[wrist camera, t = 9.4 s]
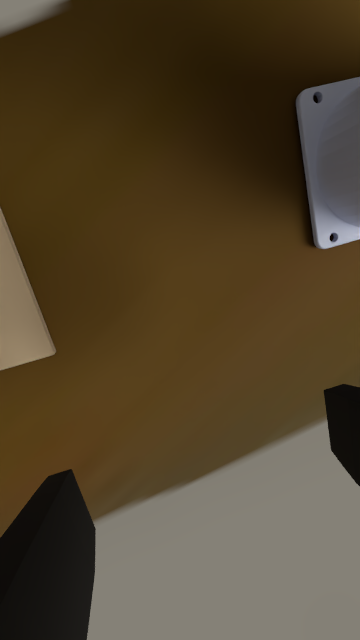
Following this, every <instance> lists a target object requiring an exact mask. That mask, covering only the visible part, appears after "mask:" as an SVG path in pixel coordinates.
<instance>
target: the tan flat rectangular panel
mask: <svg viewBox="0 0 360 640" xmlns="http://www.w3.org/2000/svg"><path fill="white" fill-rule="evenodd" d="M55 353H56V349H55V347H54V344H53V342H52V339H51V337H50V334H49V331H48V329H47V326H46V324H45V321H44V319H43V316H42V313H41V311H40V308H39V306H38V303H37V300H36V298H35V295H34V293H33V290H32V288H31V285H30V282H29V280H28V277H27V275H26V272H25V270H24V267H23V264H22V262H21V259H20V257H19V254H18V251H17V249H16V246H15V244H14V241H13V239H12V236H11V233H10V231H9V228H8V226H7V223H6V221H5V218H4V215H3V213H2V210H1V208H0V370H3V369H7V368H10V367H14V366H17V365H20V364H24V363H27V362H31V361H34V360H38V359H41V358H44V357H48V356H51V355H54V354H55Z"/></svg>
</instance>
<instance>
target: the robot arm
mask: <svg viewBox="0 0 360 640" xmlns="http://www.w3.org/2000/svg"><path fill="white" fill-rule="evenodd" d="M313 95H315V96H316V97H317V98H318V103H315V102H314V100H313ZM296 109H297V117H298V124H299V132H300V139H301V147H302V155H303V162H304V170H305V177H306V185H307V192H308V200H309V207H310V215H311V223H312V230H313V238H314V243H315V246H316V247H317V248H319V249H327V248H330V247H334V246H337V245H341V244H344V243H348V242H351V241H355V240H359V239H360V77H357V78H352V79H348V80H343V81H339V82H334V83H330V84H326V85H321V86H317V87H312V88H308V89H305V90H303V91H302V92H301V93H300V94H299V95H298V96H297V99H296ZM331 234H333V236H334V239H333V240H332V241H330V235H331ZM324 396H325V404H326V412H327V420H328V429H329V437H330V445H331V450H332V452H333V453H334V455H335V456H336V457H337V459H338V460H339V461H340V462H341V464H342V465H343V467H344V468H345V469H346V470H347V472H348V473H349V474H350V475H351V477H352V478H353V479H354V480H355V482H356V483H357V484H358V485H359V486H360V388H359V387H355V386H351V385H346V384H342V385H339V386H335V387H332V388H329V389H326V390H324ZM94 574H95V527H94V524H93V521H92V519H91V516H90V514H89V511H88V509H87V506H86V504H85V501H84V499H83V496H82V494H81V491H80V489H79V486H78V484H77V481H76V479H75V476H74V474H73V471H72V469H70V470H67V471H63V472H60V473H57V474H54V475H51V476H48V477H47V478H46V480H45V481H44V482H43V483H42V484H41V486H40V487H39V488H38V489H37V491H36V492H35V493H34V495H33V496H32V497H31V499H30V500H29V501H28V503H27V504H26V505H25V507H24V508H23V509H22V510H21V512H20V513H19V514H18V516H17V517H16V518H15V520H14V521H13V522H12V524H11V525H10V526H9V528H8V529H7V530H6V531H5V533H4V534H3V535H2V537H1V538H0V640H87V633H88V625H89V617H90V609H91V600H92V591H93V583H94Z"/></svg>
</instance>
